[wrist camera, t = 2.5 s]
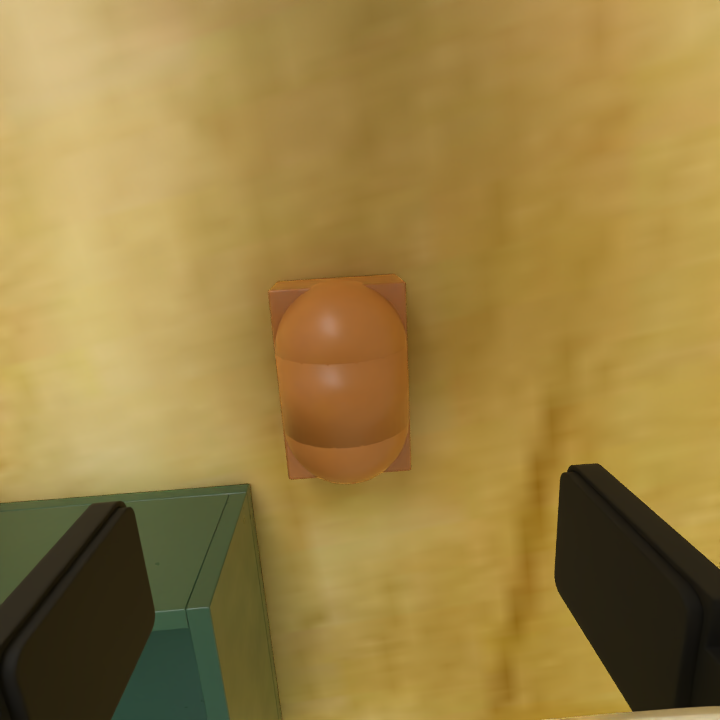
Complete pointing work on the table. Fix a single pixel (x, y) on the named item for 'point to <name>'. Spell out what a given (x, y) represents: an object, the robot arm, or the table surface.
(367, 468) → the bread roll
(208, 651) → the box
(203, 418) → the table surface
